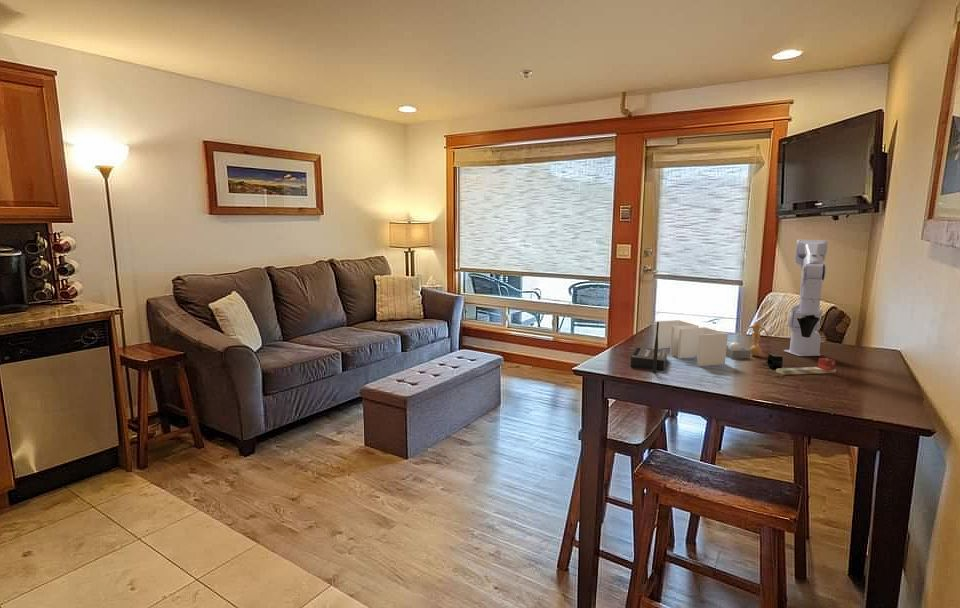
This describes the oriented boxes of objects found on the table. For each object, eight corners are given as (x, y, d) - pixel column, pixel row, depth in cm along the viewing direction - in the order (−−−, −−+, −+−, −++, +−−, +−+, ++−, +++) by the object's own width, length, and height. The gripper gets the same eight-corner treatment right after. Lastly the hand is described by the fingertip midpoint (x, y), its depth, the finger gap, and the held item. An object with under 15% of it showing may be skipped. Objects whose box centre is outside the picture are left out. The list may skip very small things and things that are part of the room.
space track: (827, 370, 170) (829, 357, 169) (836, 373, 166) (838, 359, 166) (775, 372, 166) (777, 358, 165) (783, 375, 163) (785, 361, 162)
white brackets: (724, 364, 175) (727, 333, 173) (699, 366, 172) (701, 335, 170) (676, 347, 199) (678, 320, 197) (652, 349, 195) (654, 321, 194)
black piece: (794, 373, 167) (796, 360, 166) (771, 373, 167) (773, 359, 166) (775, 363, 179) (777, 350, 178) (754, 362, 179) (755, 350, 179)
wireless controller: (631, 356, 184) (634, 310, 182) (671, 361, 179) (675, 313, 176) (623, 370, 166) (626, 319, 164) (668, 376, 161) (672, 323, 158)
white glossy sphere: (735, 352, 189) (737, 340, 188) (744, 355, 184) (745, 343, 184) (724, 353, 188) (726, 341, 187) (733, 356, 184) (734, 343, 183)
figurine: (743, 356, 186) (747, 324, 184) (740, 352, 192) (743, 321, 190) (769, 358, 184) (772, 325, 182) (764, 354, 190) (768, 322, 188)
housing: (736, 353, 191) (737, 345, 190) (749, 358, 184) (750, 350, 183) (719, 353, 189) (720, 345, 189) (732, 358, 182) (732, 350, 182)
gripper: (809, 295, 181) (804, 332, 184) (786, 298, 174) (782, 336, 176) (830, 298, 175) (825, 336, 178) (808, 301, 168) (803, 340, 170)
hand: (805, 337), depth 177 cm, fingers closed
